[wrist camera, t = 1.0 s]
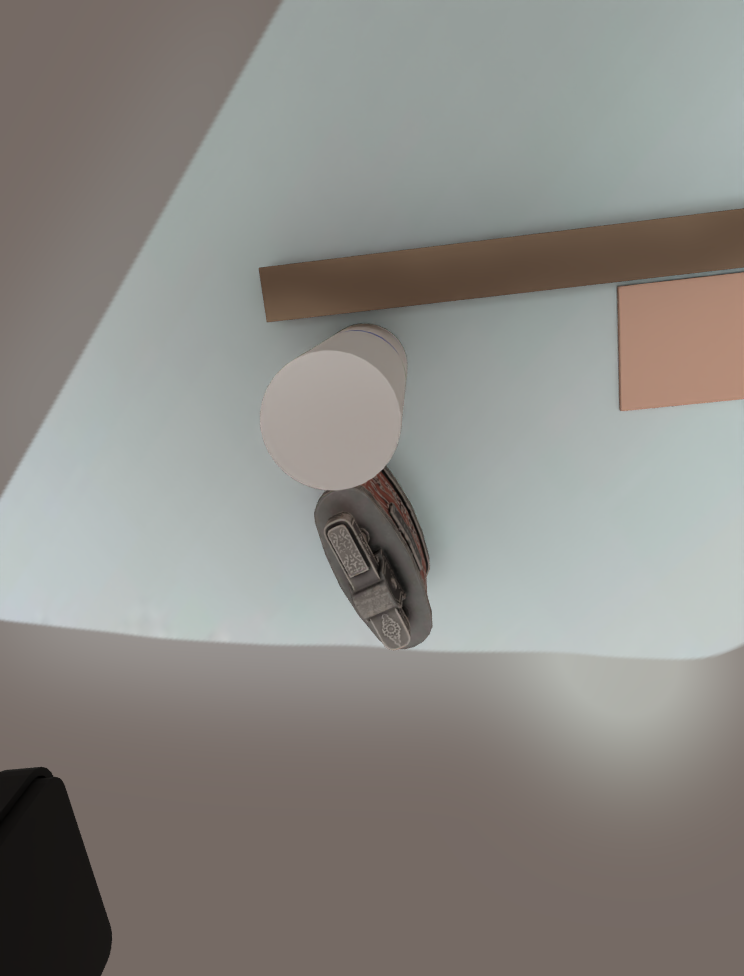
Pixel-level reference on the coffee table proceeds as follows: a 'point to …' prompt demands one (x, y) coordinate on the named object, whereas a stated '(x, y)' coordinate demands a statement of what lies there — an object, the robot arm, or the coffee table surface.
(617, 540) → the coffee table surface
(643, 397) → the end pad
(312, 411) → the tube
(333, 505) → the lighter
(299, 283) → the walnut straightedge
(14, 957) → the robot arm
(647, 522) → the coffee table surface
